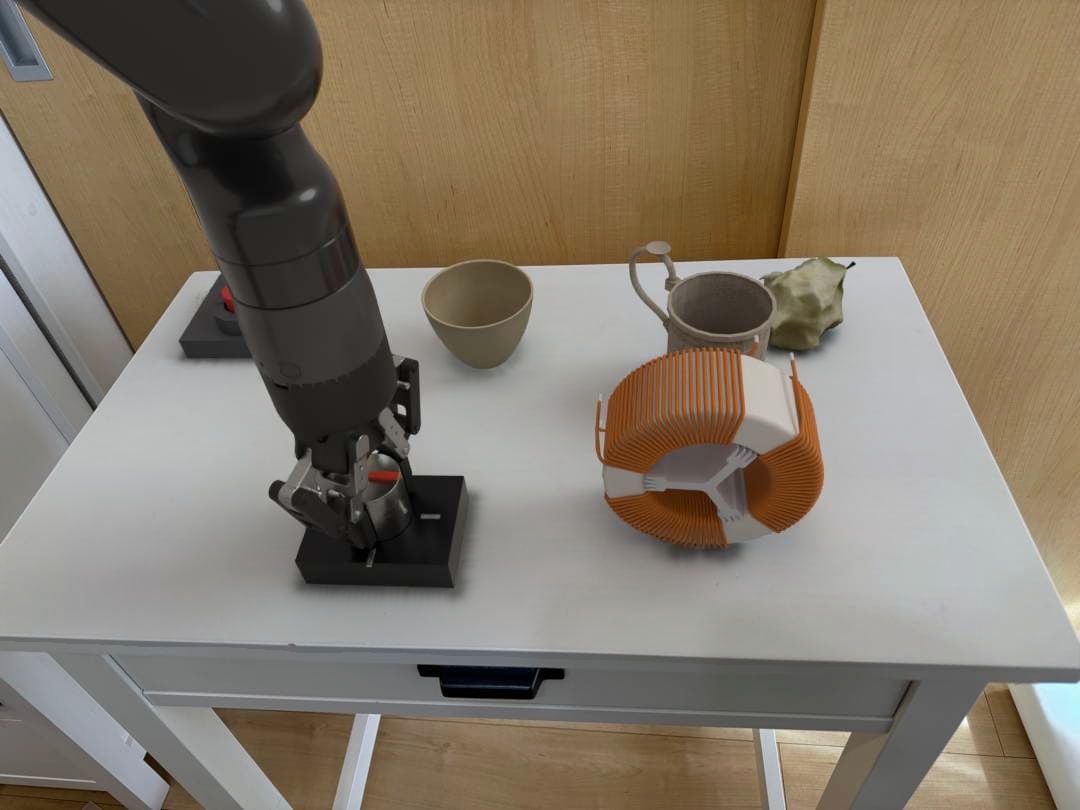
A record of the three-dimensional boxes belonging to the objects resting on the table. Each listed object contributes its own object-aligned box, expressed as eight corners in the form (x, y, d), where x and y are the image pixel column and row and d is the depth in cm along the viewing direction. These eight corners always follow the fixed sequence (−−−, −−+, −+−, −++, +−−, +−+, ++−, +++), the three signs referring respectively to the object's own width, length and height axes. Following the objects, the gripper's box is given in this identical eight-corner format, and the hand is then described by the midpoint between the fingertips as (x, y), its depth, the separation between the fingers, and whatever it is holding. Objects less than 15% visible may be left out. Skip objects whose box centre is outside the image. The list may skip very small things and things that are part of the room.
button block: (284, 357, 74) (271, 325, 71) (187, 357, 75) (170, 326, 72) (315, 289, 82) (305, 258, 79) (227, 290, 83) (213, 259, 80)
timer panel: (305, 587, 56) (292, 563, 53) (335, 494, 62) (325, 469, 59) (453, 592, 54) (446, 567, 52) (469, 496, 61) (464, 471, 58)
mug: (791, 387, 67) (816, 273, 58) (722, 449, 62) (739, 336, 54) (662, 318, 74) (668, 210, 66) (593, 369, 70) (590, 259, 62)
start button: (258, 314, 73) (252, 299, 72) (222, 314, 74) (215, 300, 73) (270, 291, 76) (264, 277, 75) (235, 292, 76) (229, 277, 75)
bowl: (426, 388, 70) (412, 327, 65) (443, 319, 77) (431, 260, 72) (535, 387, 69) (529, 326, 64) (541, 318, 76) (536, 257, 71)
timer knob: (345, 540, 55) (328, 499, 51) (360, 492, 58) (344, 449, 54) (405, 542, 54) (392, 500, 51) (417, 493, 57) (405, 450, 54)
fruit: (823, 307, 76) (858, 244, 70) (831, 376, 70) (870, 314, 64) (732, 289, 76) (759, 225, 70) (733, 357, 70) (762, 293, 64)
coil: (802, 559, 54) (848, 414, 44) (593, 545, 56) (588, 403, 46) (792, 483, 59) (831, 337, 49) (599, 473, 61) (597, 330, 51)
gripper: (335, 255, 49) (390, 434, 61) (180, 401, 40) (280, 577, 53) (436, 277, 47) (472, 459, 59) (294, 438, 38) (371, 614, 50)
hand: (381, 514), depth 56 cm, fingers closed on timer knob, 4 cm apart
